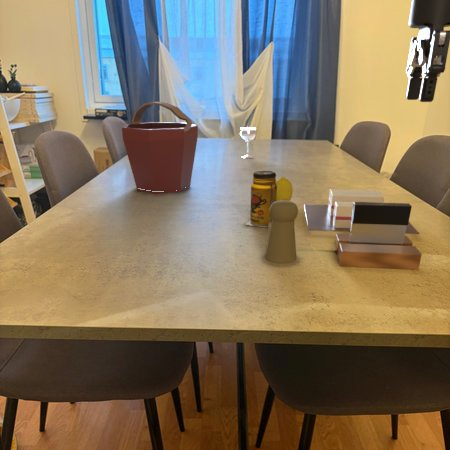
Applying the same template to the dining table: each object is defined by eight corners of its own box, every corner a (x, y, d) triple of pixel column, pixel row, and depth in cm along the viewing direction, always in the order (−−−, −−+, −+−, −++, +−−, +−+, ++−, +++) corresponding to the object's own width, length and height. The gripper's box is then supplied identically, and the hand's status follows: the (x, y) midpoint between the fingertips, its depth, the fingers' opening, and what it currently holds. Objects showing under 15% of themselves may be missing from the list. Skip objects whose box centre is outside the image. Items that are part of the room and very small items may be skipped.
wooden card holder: (404, 249, 88) (407, 235, 87) (418, 269, 79) (421, 254, 77) (334, 247, 89) (335, 233, 88) (340, 266, 80) (342, 251, 79)
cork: (274, 265, 81) (278, 207, 76) (259, 254, 86) (261, 199, 81) (302, 260, 83) (307, 203, 78) (286, 250, 88) (289, 196, 83)
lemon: (295, 207, 117) (297, 177, 113) (280, 210, 114) (281, 179, 111) (282, 202, 121) (284, 173, 117) (266, 205, 118) (268, 176, 115)
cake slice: (385, 224, 100) (389, 203, 98) (389, 229, 96) (393, 207, 94) (332, 222, 101) (334, 201, 99) (334, 227, 98) (336, 206, 95)
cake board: (395, 210, 114) (396, 207, 113) (419, 238, 94) (419, 233, 94) (303, 208, 116) (303, 204, 116) (307, 234, 97) (308, 229, 96)
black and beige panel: (398, 257, 84) (409, 203, 80) (401, 260, 83) (411, 206, 78) (346, 254, 85) (353, 201, 81) (347, 258, 84) (355, 204, 79)
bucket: (210, 191, 133) (209, 102, 122) (143, 201, 123) (135, 105, 112) (176, 177, 152) (172, 99, 141) (115, 184, 142) (105, 101, 130)
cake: (375, 209, 111) (378, 190, 108) (381, 217, 105) (384, 197, 102) (327, 208, 112) (329, 189, 110) (330, 216, 106) (332, 195, 104)
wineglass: (243, 158, 187) (244, 129, 181) (237, 156, 192) (237, 127, 187) (257, 157, 189) (258, 128, 184) (251, 155, 195) (252, 127, 189)
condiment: (244, 225, 103) (244, 173, 97) (256, 216, 110) (258, 167, 104) (272, 229, 100) (275, 176, 95) (284, 219, 107) (287, 169, 101)
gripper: (478, -17, 65) (454, 102, 72) (446, -2, 77) (427, 98, 85) (426, -15, 65) (407, 103, 73) (402, 0, 78) (388, 99, 85)
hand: (418, 100), depth 79 cm, fingers open, 8 cm apart
